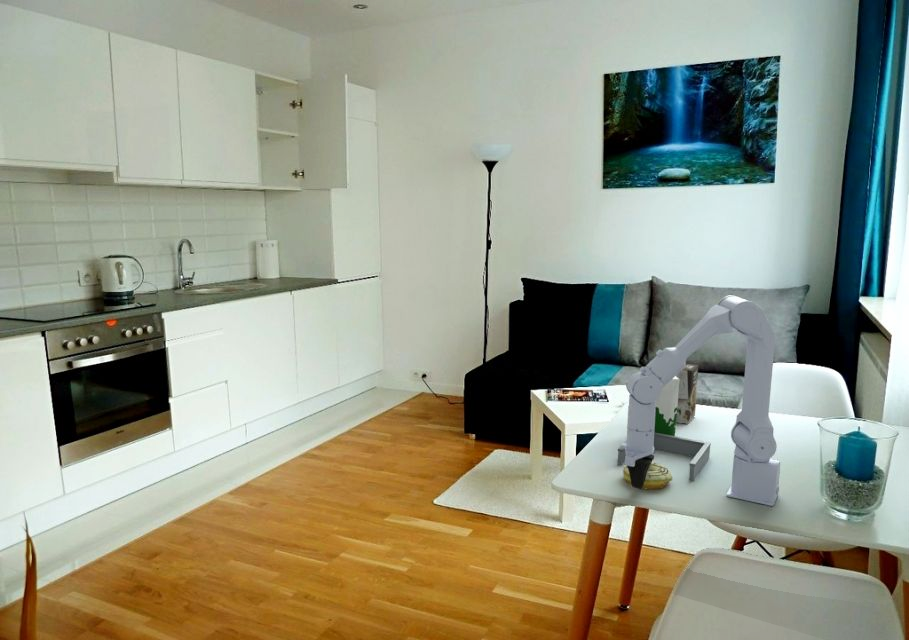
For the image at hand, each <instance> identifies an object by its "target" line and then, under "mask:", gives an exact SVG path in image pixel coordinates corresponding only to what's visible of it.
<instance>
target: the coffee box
mask: <svg viewBox="0 0 909 640" xmlns="http://www.w3.org/2000/svg"><path fill="white" fill-rule="evenodd" d="M698 375H699V365H698V364H693V363H686V365H685V368H684V369H683V370H682V371H680V372H679V373H678V374H677V375H676V377H677V378H679V379H680V380H679V391H678V405H677V420H676V423H677V422H679V423H678V424H682V423H686V424H685V425H689V424H690V423H691V422H690V421H692V420H694V419H695V417H696V409H697V408H696V406H697V405H696V404H697V392H698V391H697V390H698V379H699V378H698ZM694 416H695V417H694ZM689 422H690V423H689Z"/></svg>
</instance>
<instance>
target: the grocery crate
mask: <svg viewBox="0 0 909 640" xmlns="http://www.w3.org/2000/svg"><path fill="white" fill-rule="evenodd" d="M624 443H626V441H625V442H624ZM711 445H712V442H708V441H703V440H697V439H693V438H688V437H681V436H676V435H675V436H671V435H665V434H660V433H654V445H653V446H654V450H656V449H657V450H656V451H663V452H667V453H673V454H677V455H682V456H689V457H692V459H691V461H690V462H689V475H688V476H689V477H688V480H689V481H691V482H694V481H695V480H696V478H697V476H698V475H699V474H700V472H701V471H702V469H703V468H704V466H705V465H706V464H707V462H708V461H709V459H710V456H711V455H710V454H711V453H710V452H711ZM625 455H626V452H625V449H624V448H621V446H619V447H618V448H617V466H620V467H621V466H623V465H624V462H625V461H624V456H625Z"/></svg>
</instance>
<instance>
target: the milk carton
mask: <svg viewBox="0 0 909 640" xmlns="http://www.w3.org/2000/svg"><path fill="white" fill-rule="evenodd" d="M679 380H680V379H679V378H677V377H676V376H675V377H674V378H673V379H672V380H671V381H670V382H668V383H667V384H666V385H665V384H664V385H665V386H664V387H663V388H662V389H661V394H660V397H659V398H658V399H657V400H656V404H655V409H656V410H655V427H654V433H660V434H665V435H671V436H676V429H677V422H676V420H677V405H678V391H679Z"/></svg>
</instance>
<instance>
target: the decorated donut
mask: <svg viewBox="0 0 909 640" xmlns="http://www.w3.org/2000/svg"><path fill="white" fill-rule="evenodd" d="M622 473H623V476H624V477H623V478H624V479H625V481H626V482H627V483H628V484H630V485H631V486H632V484H631V479H630V474H629V470H628V467H627V465H624V466H623V472H622ZM672 480H673V475H672V473H671V471H670V470H669V469H668V467H666V466H664V465H662V464H660V463H658V462H653V461H652V462H651V464H650V466H649V469H648V471H647V475H646V479H645V482H644V485H643V487H642V488H641V489H644V488H647V489H646V490H658V488H660V489H663V488H665V487H666V486H667V485H668V484H669V483H670V482H671V481H672ZM662 487H663V488H662Z"/></svg>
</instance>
